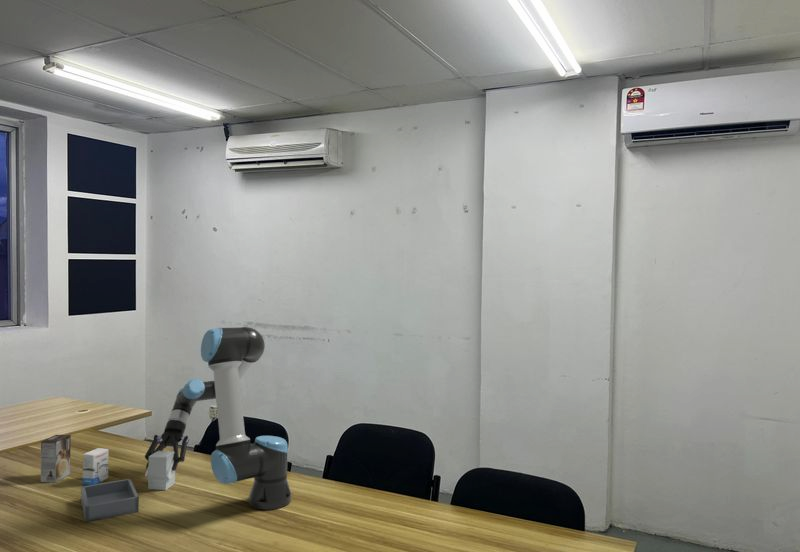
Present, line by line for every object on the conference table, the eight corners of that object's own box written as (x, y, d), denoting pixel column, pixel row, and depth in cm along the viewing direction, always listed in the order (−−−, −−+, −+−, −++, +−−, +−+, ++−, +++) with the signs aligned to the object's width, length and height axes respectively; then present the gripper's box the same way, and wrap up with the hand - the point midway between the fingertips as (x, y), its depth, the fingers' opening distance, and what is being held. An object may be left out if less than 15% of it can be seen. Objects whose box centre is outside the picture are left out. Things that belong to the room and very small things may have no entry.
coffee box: (54, 473, 224) (55, 434, 224) (70, 474, 224) (71, 434, 224) (39, 482, 215) (40, 440, 215) (56, 482, 215) (57, 441, 215)
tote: (138, 511, 191) (138, 497, 191) (85, 522, 182) (85, 507, 182) (130, 491, 208) (130, 478, 208) (80, 500, 199) (81, 486, 199)
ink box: (92, 485, 213) (93, 455, 213) (81, 484, 214) (82, 454, 214) (108, 477, 221) (109, 448, 221) (97, 476, 222) (98, 447, 222)
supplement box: (175, 483, 217) (176, 451, 217) (165, 490, 210) (166, 457, 210) (157, 482, 218) (158, 450, 218) (147, 489, 211) (148, 456, 210)
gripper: (203, 429, 229) (186, 483, 213) (155, 427, 229) (134, 481, 213) (199, 419, 223) (181, 474, 207) (149, 418, 224) (127, 472, 208)
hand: (157, 477), depth 210 cm, fingers closed on supplement box, 7 cm apart
